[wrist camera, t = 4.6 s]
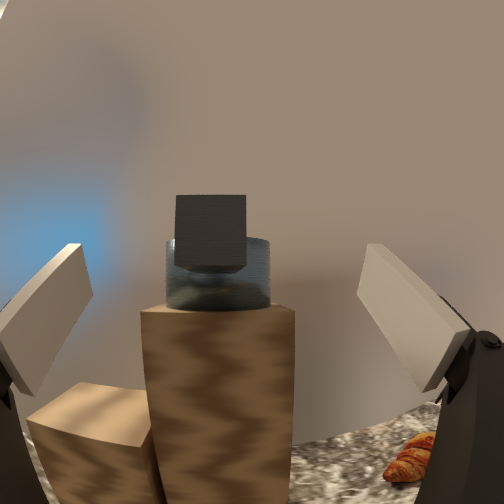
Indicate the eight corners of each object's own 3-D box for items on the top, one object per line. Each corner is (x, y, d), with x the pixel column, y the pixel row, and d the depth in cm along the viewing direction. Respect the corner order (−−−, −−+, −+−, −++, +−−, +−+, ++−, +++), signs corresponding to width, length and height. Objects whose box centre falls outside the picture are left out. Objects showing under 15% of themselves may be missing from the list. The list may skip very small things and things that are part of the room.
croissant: (449, 449, 34) (444, 416, 39) (486, 442, 26) (482, 405, 31) (368, 492, 29) (364, 453, 34) (409, 499, 21) (405, 452, 26)
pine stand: (74, 528, 15) (6, 268, 18) (104, 477, 29) (72, 274, 32) (285, 550, 18) (297, 271, 21) (267, 488, 31) (268, 276, 35)
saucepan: (100, 333, 11) (103, 198, 11) (175, 302, 31) (175, 250, 32) (327, 332, 12) (323, 197, 12) (263, 302, 32) (262, 249, 33)
